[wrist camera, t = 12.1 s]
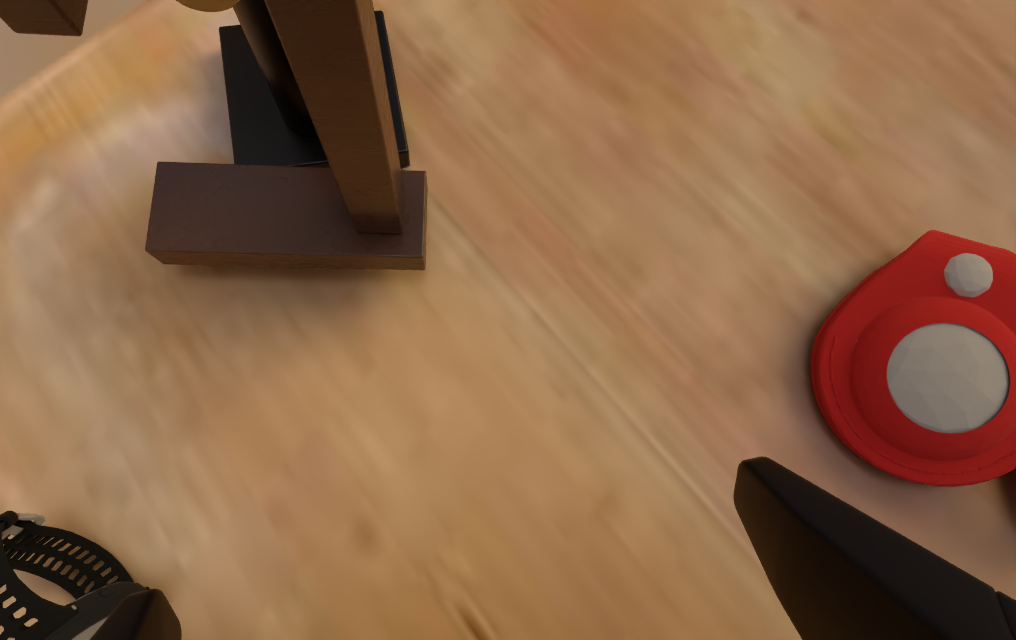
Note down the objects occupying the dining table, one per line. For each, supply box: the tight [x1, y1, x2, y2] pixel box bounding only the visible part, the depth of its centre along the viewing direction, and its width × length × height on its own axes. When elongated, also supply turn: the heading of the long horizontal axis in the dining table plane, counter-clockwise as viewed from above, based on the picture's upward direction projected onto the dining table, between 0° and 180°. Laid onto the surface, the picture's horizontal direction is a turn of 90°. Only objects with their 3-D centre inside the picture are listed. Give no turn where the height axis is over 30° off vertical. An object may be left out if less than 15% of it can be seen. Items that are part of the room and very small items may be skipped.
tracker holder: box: [810, 230, 1016, 487], centre depth 24 cm, size 12×4×10 cm
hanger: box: [0, 0, 428, 270], centre depth 16 cm, size 3×9×14 cm, turn 90°
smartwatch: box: [0, 511, 150, 640], centre depth 18 cm, size 4×5×5 cm
